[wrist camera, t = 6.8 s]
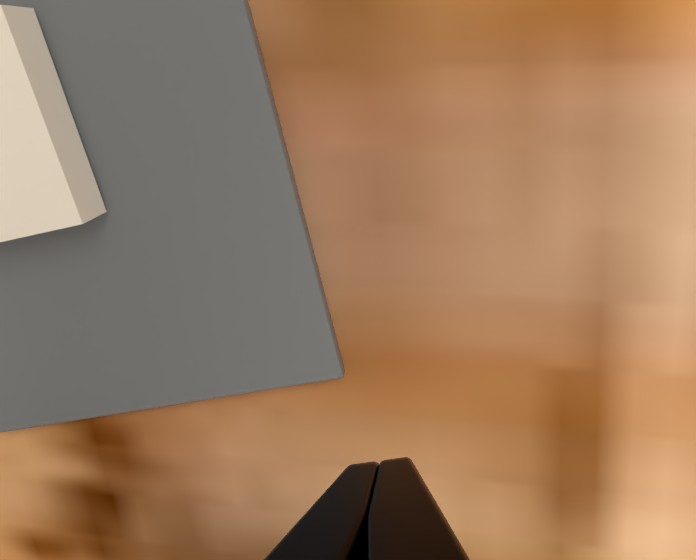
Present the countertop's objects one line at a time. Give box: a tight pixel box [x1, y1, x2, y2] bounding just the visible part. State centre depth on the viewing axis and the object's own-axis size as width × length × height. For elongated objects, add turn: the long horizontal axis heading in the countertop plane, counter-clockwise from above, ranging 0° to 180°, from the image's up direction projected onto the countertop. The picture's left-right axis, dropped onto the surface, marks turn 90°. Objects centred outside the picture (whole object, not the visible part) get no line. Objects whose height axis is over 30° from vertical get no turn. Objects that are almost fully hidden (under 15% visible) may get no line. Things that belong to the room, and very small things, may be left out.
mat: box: [0, 0, 345, 432], centre depth 20 cm, size 18×14×1 cm
